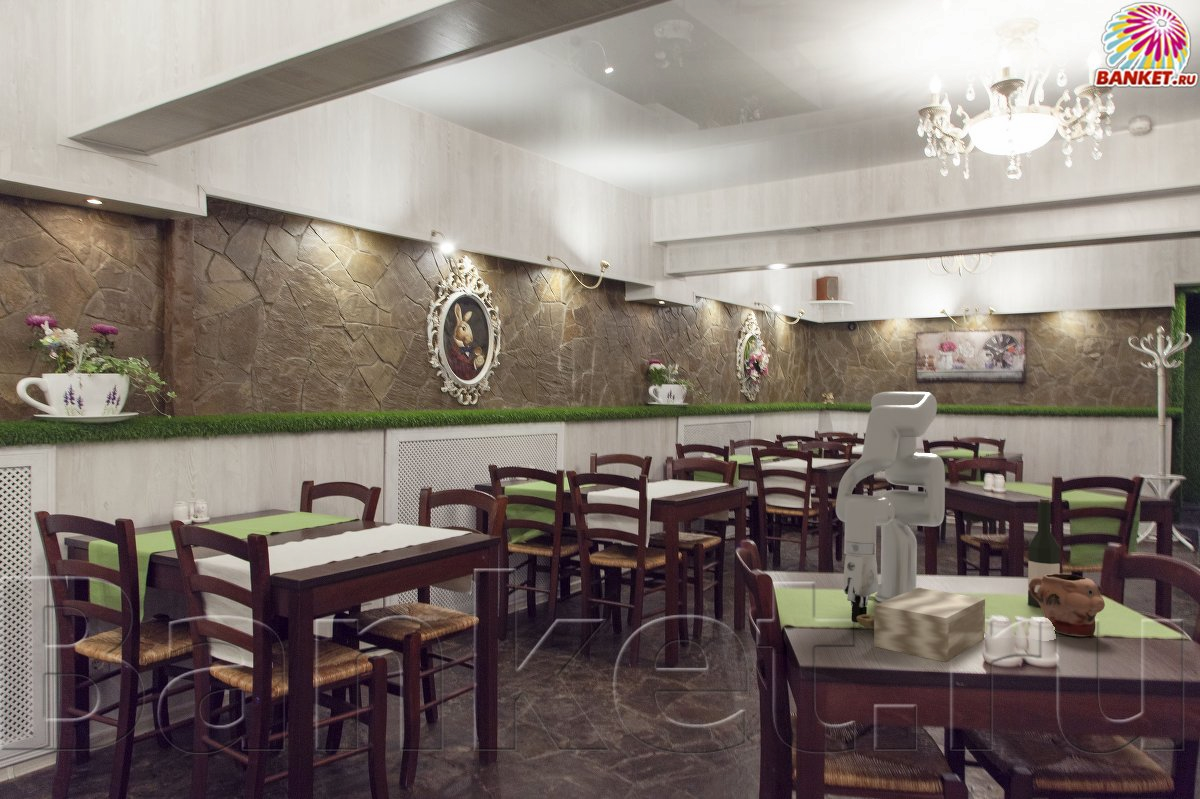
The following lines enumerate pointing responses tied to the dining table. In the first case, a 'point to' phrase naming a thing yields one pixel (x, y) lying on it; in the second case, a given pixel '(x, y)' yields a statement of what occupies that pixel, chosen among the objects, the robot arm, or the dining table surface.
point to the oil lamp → (866, 620)
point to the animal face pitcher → (1068, 602)
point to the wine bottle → (1042, 550)
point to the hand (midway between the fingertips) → (859, 621)
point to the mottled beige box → (929, 623)
